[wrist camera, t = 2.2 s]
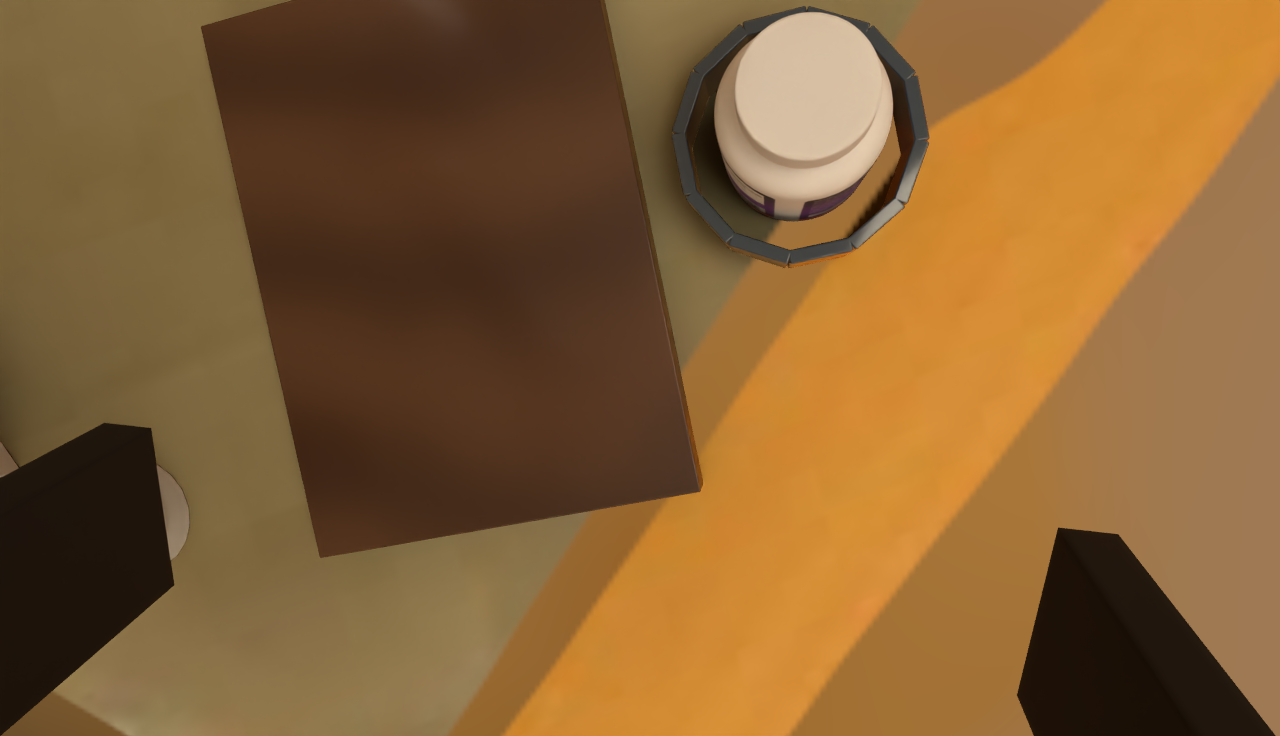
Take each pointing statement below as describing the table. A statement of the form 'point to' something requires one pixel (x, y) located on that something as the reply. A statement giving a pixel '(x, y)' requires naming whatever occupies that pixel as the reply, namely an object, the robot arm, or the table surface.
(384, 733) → the table surface
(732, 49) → the slate ring
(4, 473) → the walkman
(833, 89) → the pill bottle
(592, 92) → the walnut board
